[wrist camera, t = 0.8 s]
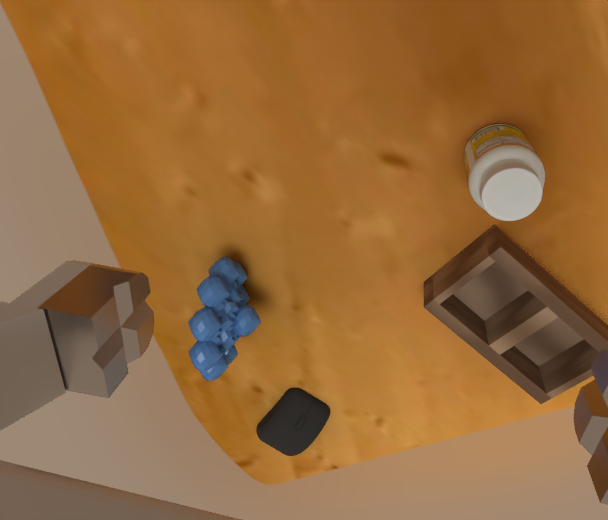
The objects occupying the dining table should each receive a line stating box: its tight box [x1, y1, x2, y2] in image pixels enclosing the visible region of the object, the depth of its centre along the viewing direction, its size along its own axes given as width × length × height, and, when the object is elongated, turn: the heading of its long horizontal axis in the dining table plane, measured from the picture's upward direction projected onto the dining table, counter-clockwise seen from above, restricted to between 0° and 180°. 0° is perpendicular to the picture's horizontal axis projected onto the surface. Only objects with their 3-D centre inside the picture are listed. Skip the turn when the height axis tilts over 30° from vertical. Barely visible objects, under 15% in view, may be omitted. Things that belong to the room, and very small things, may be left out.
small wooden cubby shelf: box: [424, 225, 608, 404], centre depth 46 cm, size 9×16×4 cm, turn 52°
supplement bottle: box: [464, 124, 545, 221], centre depth 37 cm, size 5×5×10 cm
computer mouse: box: [257, 388, 330, 456], centre depth 62 cm, size 6×11×4 cm, turn 149°
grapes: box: [188, 257, 261, 381], centre depth 49 cm, size 12×7×12 cm, turn 179°
